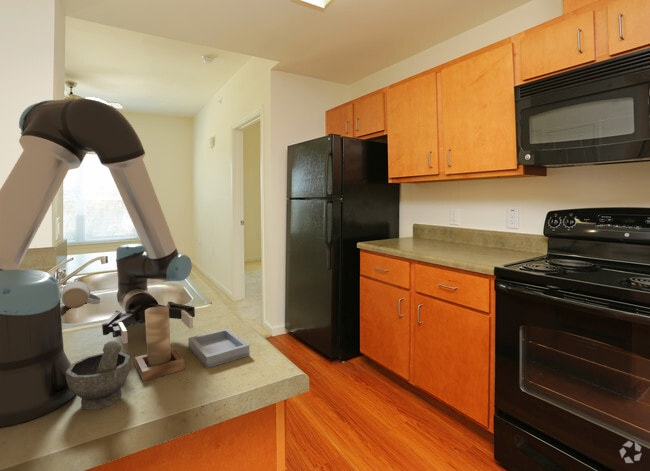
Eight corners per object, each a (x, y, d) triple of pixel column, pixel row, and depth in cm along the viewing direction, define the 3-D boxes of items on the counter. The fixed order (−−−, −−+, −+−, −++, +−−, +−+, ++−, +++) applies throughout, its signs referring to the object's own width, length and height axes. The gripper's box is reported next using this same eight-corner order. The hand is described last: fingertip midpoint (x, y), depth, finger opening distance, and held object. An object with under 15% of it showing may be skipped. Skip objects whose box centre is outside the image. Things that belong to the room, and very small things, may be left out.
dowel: (150, 375, 72) (147, 314, 71) (146, 366, 76) (142, 308, 74) (174, 368, 75) (171, 310, 74) (168, 360, 79) (165, 304, 77)
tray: (207, 368, 75) (206, 357, 75) (188, 347, 85) (188, 337, 85) (249, 355, 81) (249, 345, 81) (227, 337, 92) (227, 328, 91)
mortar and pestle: (60, 403, 62) (54, 339, 61) (114, 380, 70) (110, 323, 69) (90, 425, 56) (85, 355, 55) (146, 397, 64) (142, 335, 63)
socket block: (143, 381, 70) (142, 371, 70) (135, 365, 76) (135, 357, 76) (184, 369, 75) (184, 360, 74) (174, 355, 81) (174, 347, 81)
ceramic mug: (61, 311, 112) (60, 287, 111) (63, 304, 119) (62, 282, 118) (101, 306, 118) (99, 284, 117) (100, 300, 124) (99, 279, 124)
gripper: (188, 310, 102) (215, 332, 86) (86, 330, 87) (94, 361, 70) (187, 285, 101) (214, 303, 85) (83, 300, 86) (92, 326, 70)
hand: (160, 329), depth 78 cm, fingers open, 13 cm apart
